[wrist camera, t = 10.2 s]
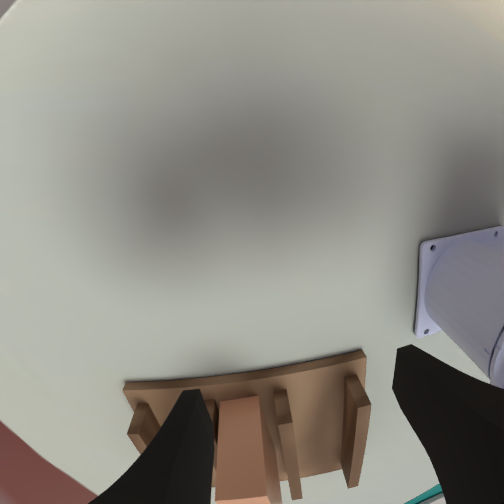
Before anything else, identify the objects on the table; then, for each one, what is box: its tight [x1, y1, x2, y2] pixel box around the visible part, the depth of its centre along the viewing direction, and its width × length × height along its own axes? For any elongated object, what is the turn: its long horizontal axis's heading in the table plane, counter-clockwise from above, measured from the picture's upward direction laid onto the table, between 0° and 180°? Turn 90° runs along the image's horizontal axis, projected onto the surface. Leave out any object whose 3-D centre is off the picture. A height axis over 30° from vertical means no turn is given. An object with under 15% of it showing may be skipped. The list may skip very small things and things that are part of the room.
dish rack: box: [123, 350, 371, 500], centre depth 22 cm, size 19×16×4 cm
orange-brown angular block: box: [215, 396, 282, 504], centre depth 19 cm, size 3×8×9 cm, turn 12°
